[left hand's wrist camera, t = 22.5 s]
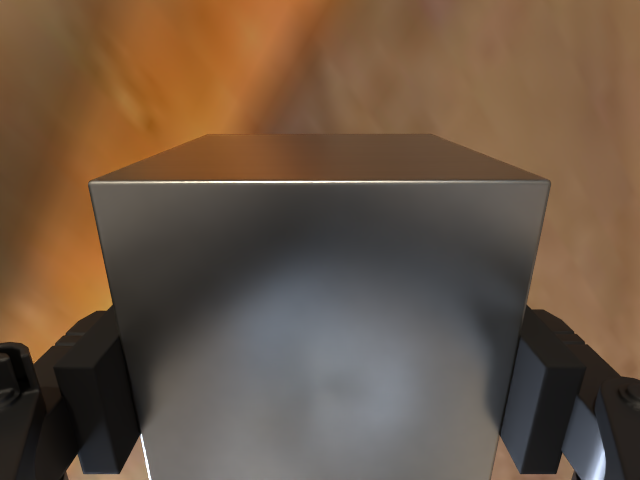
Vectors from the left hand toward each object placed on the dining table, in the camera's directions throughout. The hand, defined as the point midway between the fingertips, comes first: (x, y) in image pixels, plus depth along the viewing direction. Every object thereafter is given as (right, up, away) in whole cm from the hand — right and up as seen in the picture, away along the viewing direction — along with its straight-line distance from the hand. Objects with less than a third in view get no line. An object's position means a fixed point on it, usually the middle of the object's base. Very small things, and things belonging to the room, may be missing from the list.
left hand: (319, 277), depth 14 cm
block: (0, +1, +2) cm, 3 cm away
